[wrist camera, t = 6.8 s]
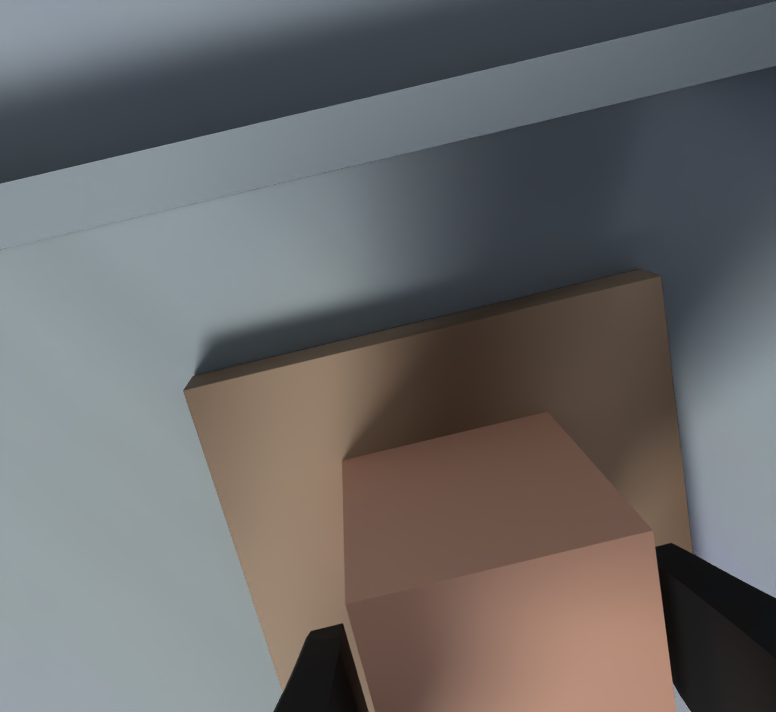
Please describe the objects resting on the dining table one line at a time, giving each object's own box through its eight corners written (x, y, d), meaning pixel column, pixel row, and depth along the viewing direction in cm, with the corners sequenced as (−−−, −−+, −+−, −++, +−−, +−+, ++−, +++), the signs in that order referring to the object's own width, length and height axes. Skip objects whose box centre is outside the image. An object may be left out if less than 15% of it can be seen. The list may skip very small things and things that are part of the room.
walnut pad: (639, 268, 15) (661, 276, 14) (685, 644, 18) (706, 671, 17) (193, 376, 15) (182, 390, 14) (309, 736, 17) (308, 769, 17)
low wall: (901, -18, 14) (1023, -58, 11) (902, 35, 14) (1020, 8, 12) (-73, 212, 13) (-162, 221, 11) (-53, 261, 14) (-136, 281, 11)
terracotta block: (547, 411, 14) (653, 530, 10) (577, 590, 16) (684, 774, 11) (341, 460, 14) (344, 604, 10) (388, 635, 16) (411, 841, 11)
